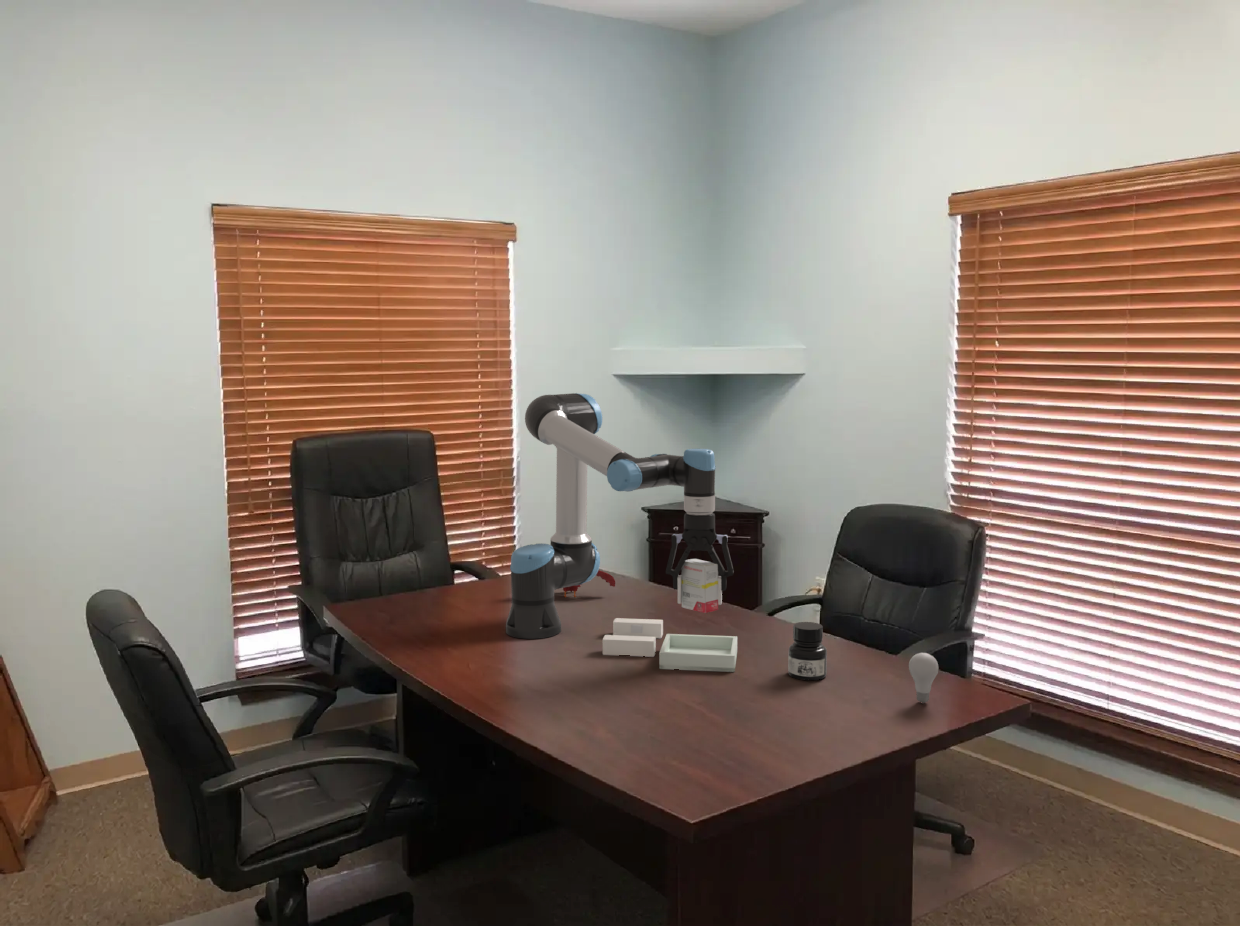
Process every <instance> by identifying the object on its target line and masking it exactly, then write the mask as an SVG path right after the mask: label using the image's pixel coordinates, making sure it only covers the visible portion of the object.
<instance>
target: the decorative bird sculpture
mask: <svg viewBox="0 0 1240 926" xmlns="http://www.w3.org/2000/svg"><path fill="white" fill-rule="evenodd" d="M595 577H597V578H598V577H600V578H601V579H602V580H605V583H608V584H609V586H610V587H613V588H615V587H616V579H615V578H614V576H612V575H611V574H609V573H608V572H605V571H603V570H598V572H597V574H596V576H595ZM582 585H583V584H581V585H574V586H569V587H565V588H562V590H563V592H564V595H563V597H564V598H567V597H569V596H568V595H567V592H570V593H572V592H573V597H574V598H576V597H577V595H576V593H577V591H578V589H579V588H581V586H582Z"/></svg>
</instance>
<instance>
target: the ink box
mask: <svg viewBox="0 0 1240 926" xmlns="http://www.w3.org/2000/svg"><path fill="white" fill-rule="evenodd" d="M680 573H681V574H680V575H682V602H681V608H684V609H687V610H692V611H695V612H699V613H704V614H708V613H712V612H716V611H719V605H718V577H719V572H718V564H714V562H713V561H712V562H711V561H707V560H702V559H699V558H690V559H686V561H685V563H684V564H683V566H682V568H681V570H680Z"/></svg>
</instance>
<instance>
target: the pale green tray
mask: <svg viewBox="0 0 1240 926" xmlns="http://www.w3.org/2000/svg"><path fill="white" fill-rule="evenodd" d="M658 653H659V654H658V655H659V657H658V659H659V668H658V669H660V670H674V669H679V670H678V671H680V670H681V671H700V672H724V673H725V672H727V673H735V672H736V664H737V658H738V657H737V656H738V636H737V635H736V636H734V635H733V636H732V635H708V634H706V635H705V634H684V633H683V634H681V633H679V634H678V633H666V635H665V638H664V640H663V642H662V645H661V647H660V650H659V652H658Z"/></svg>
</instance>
